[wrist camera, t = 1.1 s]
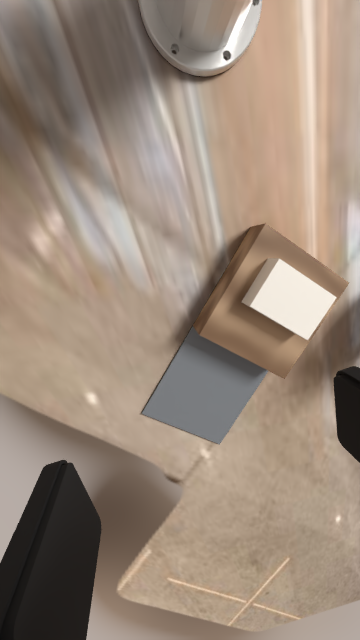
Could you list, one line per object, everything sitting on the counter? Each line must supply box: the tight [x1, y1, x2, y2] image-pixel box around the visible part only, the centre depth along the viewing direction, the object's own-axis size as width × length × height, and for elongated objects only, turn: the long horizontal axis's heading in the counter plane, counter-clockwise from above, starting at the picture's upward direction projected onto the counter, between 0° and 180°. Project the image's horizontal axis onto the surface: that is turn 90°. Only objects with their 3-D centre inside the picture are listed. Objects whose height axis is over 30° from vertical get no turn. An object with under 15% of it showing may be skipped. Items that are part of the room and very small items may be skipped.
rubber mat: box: [142, 326, 268, 444], centre depth 37 cm, size 15×14×1 cm
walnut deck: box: [193, 223, 349, 379], centre depth 33 cm, size 15×14×4 cm
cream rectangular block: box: [242, 258, 337, 340], centre depth 30 cm, size 6×9×2 cm, turn 60°
